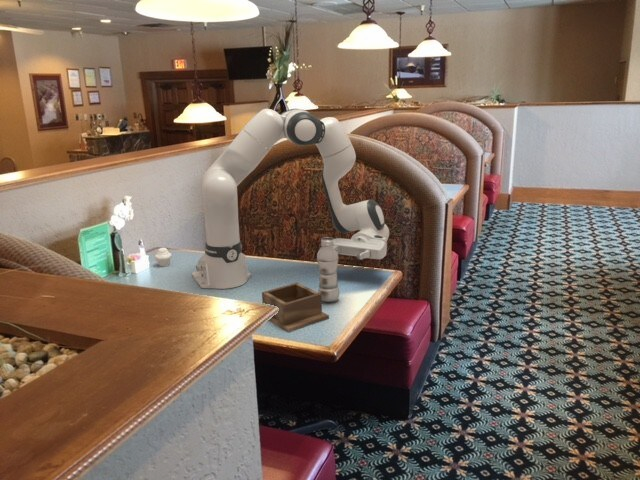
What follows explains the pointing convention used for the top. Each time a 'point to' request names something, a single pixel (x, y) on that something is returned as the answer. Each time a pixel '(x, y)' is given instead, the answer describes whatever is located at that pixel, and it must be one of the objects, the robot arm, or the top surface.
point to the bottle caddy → (295, 306)
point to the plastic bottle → (328, 271)
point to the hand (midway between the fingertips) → (345, 255)
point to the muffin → (163, 257)
